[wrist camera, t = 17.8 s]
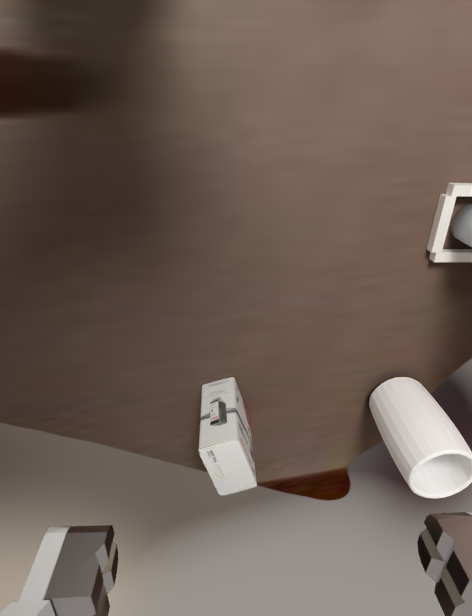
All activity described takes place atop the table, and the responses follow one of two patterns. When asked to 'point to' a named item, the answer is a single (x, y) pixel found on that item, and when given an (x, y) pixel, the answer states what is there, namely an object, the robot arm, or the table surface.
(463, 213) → the canister
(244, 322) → the table surface
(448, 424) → the cup
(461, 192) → the white square frame
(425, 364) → the table surface
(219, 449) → the ink box
